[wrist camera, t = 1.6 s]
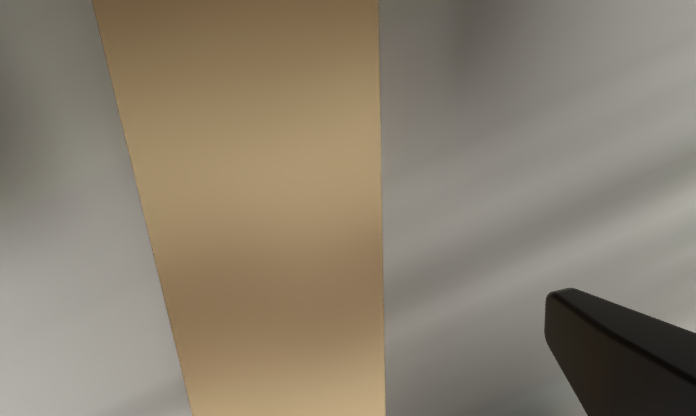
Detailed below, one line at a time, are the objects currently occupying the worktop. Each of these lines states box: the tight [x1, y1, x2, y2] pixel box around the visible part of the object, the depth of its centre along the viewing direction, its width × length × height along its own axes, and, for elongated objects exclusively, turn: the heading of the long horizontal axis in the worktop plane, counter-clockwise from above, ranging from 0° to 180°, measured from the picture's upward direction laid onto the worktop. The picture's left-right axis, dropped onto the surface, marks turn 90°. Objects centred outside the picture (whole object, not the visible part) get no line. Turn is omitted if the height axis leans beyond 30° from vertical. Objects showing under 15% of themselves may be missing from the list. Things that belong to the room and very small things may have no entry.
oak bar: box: [92, 0, 386, 416], centre depth 11 cm, size 16×4×4 cm, turn 3°
